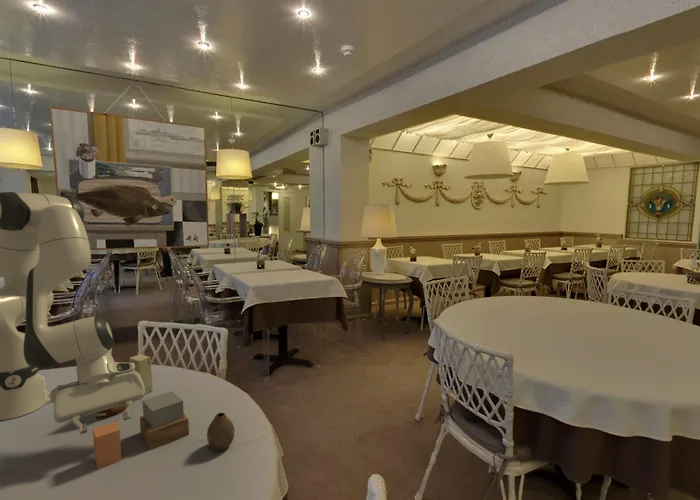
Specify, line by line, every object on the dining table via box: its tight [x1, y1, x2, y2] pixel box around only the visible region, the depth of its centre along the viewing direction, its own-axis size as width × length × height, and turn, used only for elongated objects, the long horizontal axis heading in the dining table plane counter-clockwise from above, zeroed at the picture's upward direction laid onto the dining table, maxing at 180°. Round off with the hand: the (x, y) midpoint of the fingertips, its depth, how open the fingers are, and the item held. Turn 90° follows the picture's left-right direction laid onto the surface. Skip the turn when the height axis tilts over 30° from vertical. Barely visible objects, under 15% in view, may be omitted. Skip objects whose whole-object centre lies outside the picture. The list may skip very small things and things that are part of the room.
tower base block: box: [139, 413, 190, 450], centre depth 107 cm, size 10×10×5 cm
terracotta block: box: [92, 421, 122, 469], centre depth 95 cm, size 5×5×8 cm
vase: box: [206, 412, 235, 451], centre depth 101 cm, size 7×7×9 cm
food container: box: [94, 404, 128, 419], centre depth 118 cm, size 12×6×10 cm, turn 168°
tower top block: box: [142, 390, 185, 429], centre depth 106 cm, size 8×8×5 cm
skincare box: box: [128, 353, 153, 395], centre depth 131 cm, size 6×4×12 cm
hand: (105, 425), depth 97 cm, fingers open, 8 cm apart
